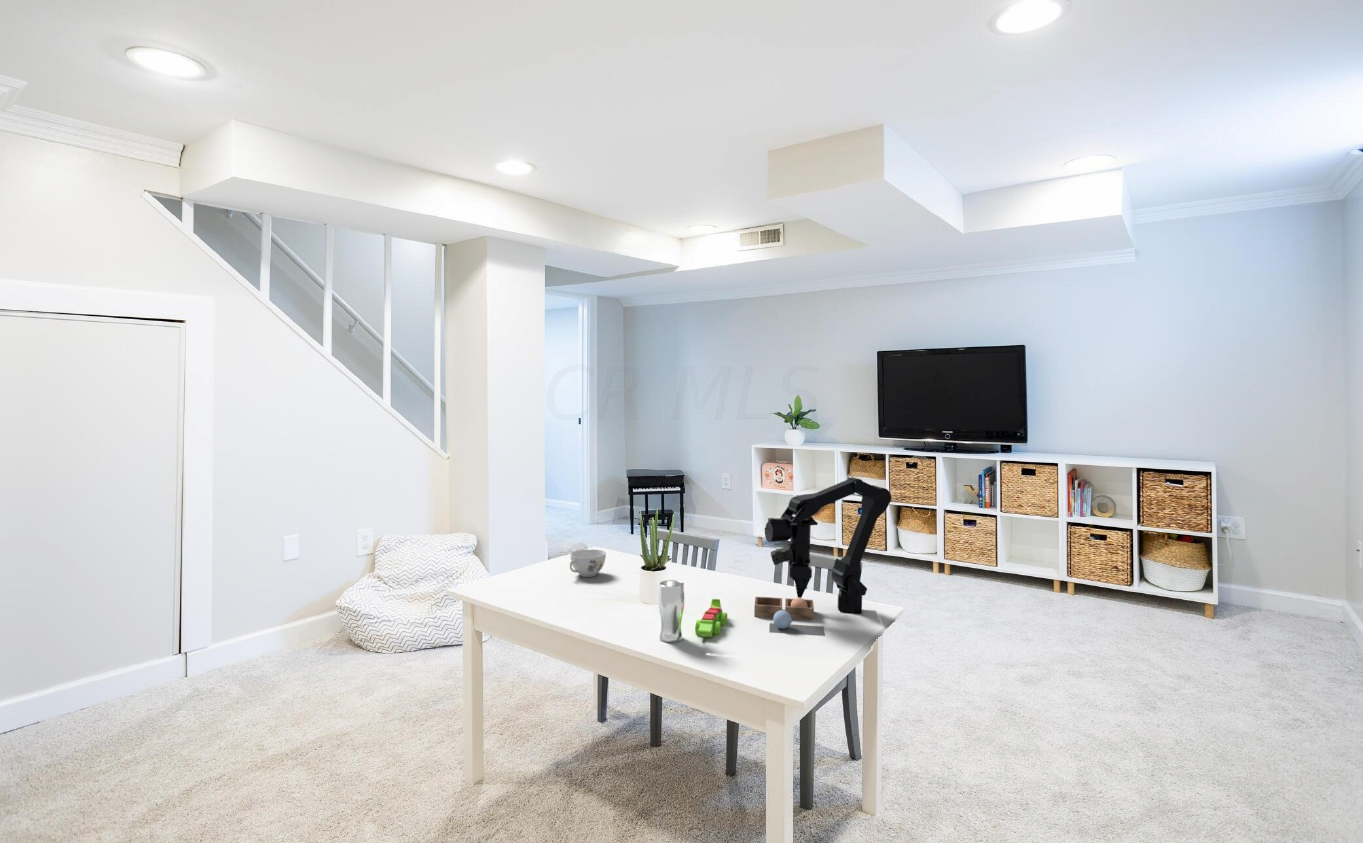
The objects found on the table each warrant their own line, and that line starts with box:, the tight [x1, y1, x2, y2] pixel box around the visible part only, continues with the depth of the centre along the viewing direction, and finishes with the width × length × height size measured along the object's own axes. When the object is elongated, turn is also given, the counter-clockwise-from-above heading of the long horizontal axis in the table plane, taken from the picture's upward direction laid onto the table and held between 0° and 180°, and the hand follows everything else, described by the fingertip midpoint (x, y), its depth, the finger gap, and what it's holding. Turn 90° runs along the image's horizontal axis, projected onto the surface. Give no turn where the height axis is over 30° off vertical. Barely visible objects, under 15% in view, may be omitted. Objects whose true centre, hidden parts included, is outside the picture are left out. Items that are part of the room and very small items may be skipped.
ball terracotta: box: [791, 597, 808, 608], centre depth 197 cm, size 5×5×5 cm
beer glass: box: [658, 579, 686, 644], centre depth 179 cm, size 7×7×15 cm
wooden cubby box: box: [784, 597, 815, 621], centre depth 197 cm, size 8×8×4 cm
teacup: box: [569, 549, 607, 578], centre depth 236 cm, size 15×12×8 cm
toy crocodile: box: [694, 598, 728, 638], centre depth 186 cm, size 20×7×6 cm, turn 163°
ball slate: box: [772, 609, 792, 629], centre depth 186 cm, size 5×5×5 cm
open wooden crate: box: [753, 596, 783, 619], centre depth 198 cm, size 8×8×4 cm
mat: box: [768, 622, 826, 637], centre depth 186 cm, size 15×7×1 cm, turn 82°
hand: (799, 592), depth 197 cm, fingers open, 9 cm apart
